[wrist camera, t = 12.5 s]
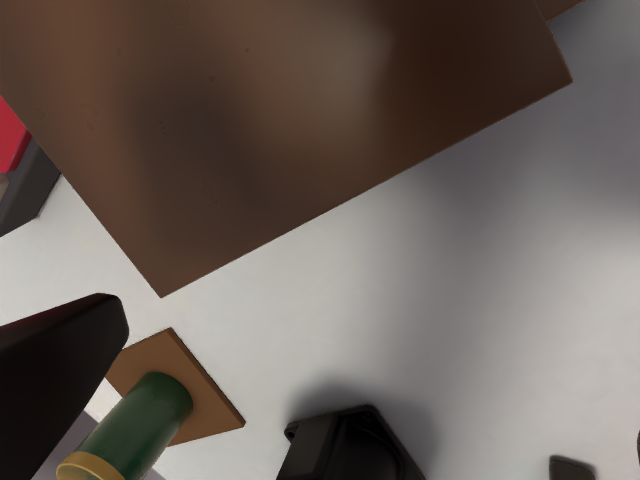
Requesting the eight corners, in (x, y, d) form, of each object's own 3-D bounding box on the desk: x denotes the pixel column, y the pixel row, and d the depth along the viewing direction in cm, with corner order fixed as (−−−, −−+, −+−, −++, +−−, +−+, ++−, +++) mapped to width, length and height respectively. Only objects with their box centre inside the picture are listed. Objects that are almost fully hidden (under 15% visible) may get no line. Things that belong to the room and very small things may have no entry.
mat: (246, 422, 29) (243, 427, 29) (168, 443, 33) (165, 447, 33) (170, 327, 27) (166, 331, 27) (97, 361, 31) (93, 365, 31)
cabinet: (366, -319, 13) (275, -572, 7) (541, 54, 15) (575, 82, 10) (87, 9, 20) (-68, 10, 14) (240, 226, 22) (160, 299, 17)
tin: (205, 411, 29) (135, 513, 23) (166, 423, 31) (92, 520, 25) (166, 363, 28) (83, 458, 22) (128, 379, 30) (42, 469, 24)
